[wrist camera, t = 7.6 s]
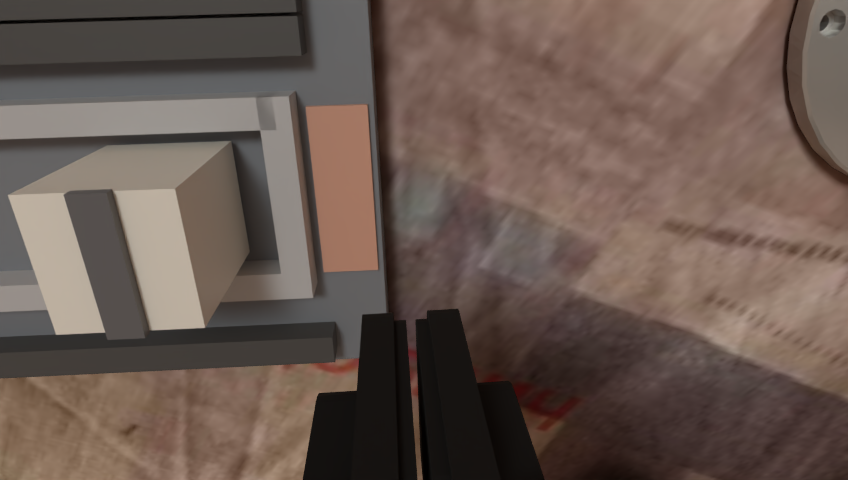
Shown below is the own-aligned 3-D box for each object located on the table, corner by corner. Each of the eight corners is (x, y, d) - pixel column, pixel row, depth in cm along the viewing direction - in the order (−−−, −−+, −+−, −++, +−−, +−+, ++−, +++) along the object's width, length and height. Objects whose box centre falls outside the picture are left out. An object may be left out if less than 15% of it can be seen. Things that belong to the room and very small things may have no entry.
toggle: (230, 139, 18) (169, 190, 13) (250, 252, 20) (202, 335, 15) (106, 143, 18) (-2, 196, 13) (136, 257, 20) (50, 342, 15)
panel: (368, -29, 18) (363, -35, 15) (389, 329, 24) (388, 375, 21) (-320, -11, 18) (-464, -14, 15) (-132, 353, 23) (-209, 404, 20)
